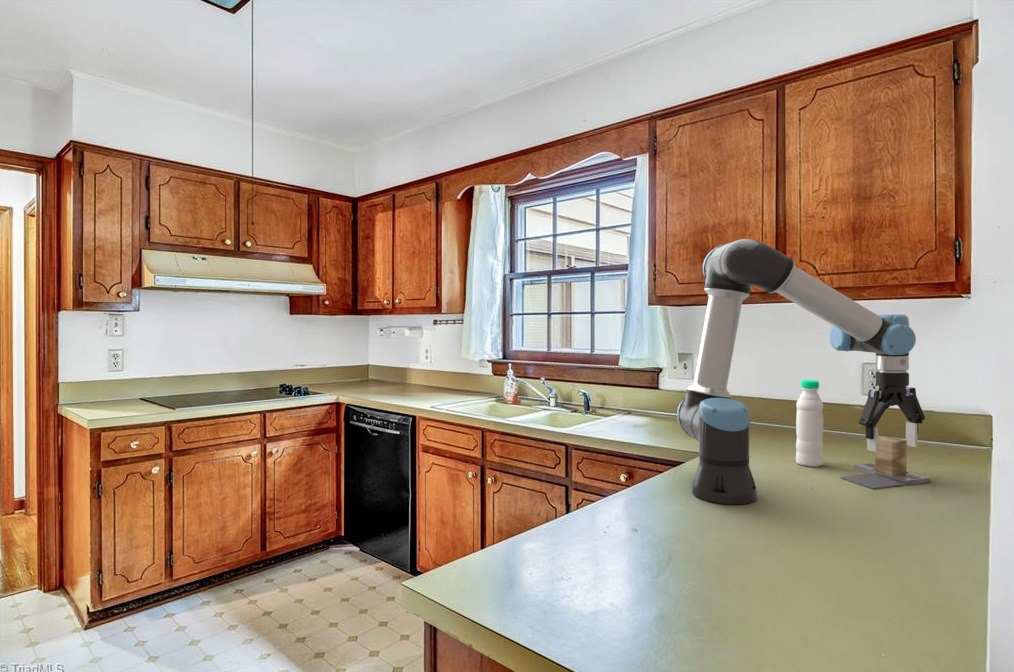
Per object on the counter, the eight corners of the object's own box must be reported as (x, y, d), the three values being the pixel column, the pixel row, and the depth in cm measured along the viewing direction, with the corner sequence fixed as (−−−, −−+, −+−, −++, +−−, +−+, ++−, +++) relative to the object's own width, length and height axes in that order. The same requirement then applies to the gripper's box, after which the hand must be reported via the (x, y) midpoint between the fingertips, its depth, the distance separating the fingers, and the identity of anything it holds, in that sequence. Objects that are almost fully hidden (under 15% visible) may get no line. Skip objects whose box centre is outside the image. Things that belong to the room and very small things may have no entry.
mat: (873, 489, 144) (873, 487, 144) (840, 478, 154) (840, 476, 154) (903, 485, 147) (903, 484, 147) (869, 474, 156) (869, 473, 156)
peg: (891, 478, 152) (892, 442, 152) (875, 473, 157) (875, 438, 157) (906, 477, 154) (906, 440, 153) (889, 472, 159) (890, 436, 158)
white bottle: (795, 465, 166) (796, 381, 165) (796, 460, 173) (796, 378, 171) (823, 468, 163) (824, 382, 162) (822, 462, 169) (823, 379, 168)
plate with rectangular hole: (906, 485, 147) (906, 480, 147) (854, 468, 162) (854, 464, 162) (930, 482, 149) (930, 477, 149) (876, 466, 164) (876, 462, 164)
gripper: (867, 375, 147) (867, 456, 148) (940, 369, 154) (940, 447, 155) (843, 372, 155) (843, 449, 156) (914, 367, 161) (914, 441, 162)
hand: (892, 448), depth 155 cm, fingers open, 13 cm apart
